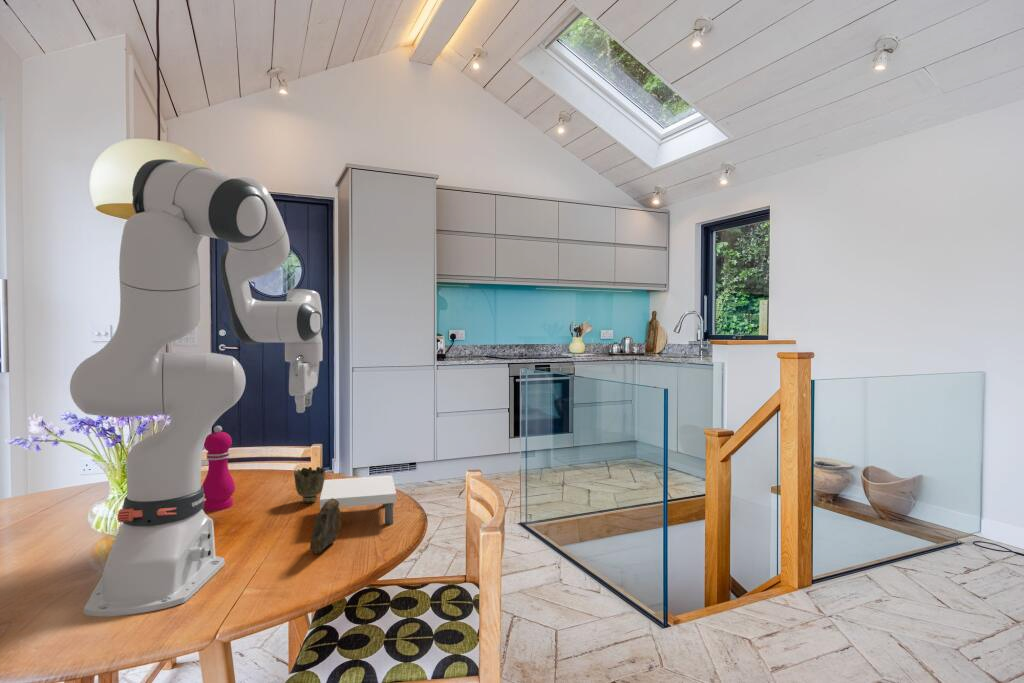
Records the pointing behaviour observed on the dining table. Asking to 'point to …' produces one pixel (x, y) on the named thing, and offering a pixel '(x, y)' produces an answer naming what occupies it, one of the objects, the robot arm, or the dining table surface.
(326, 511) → the decorative stone
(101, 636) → the dining table surface
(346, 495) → the footstool
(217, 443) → the pepper mill
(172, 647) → the dining table surface
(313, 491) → the cup
